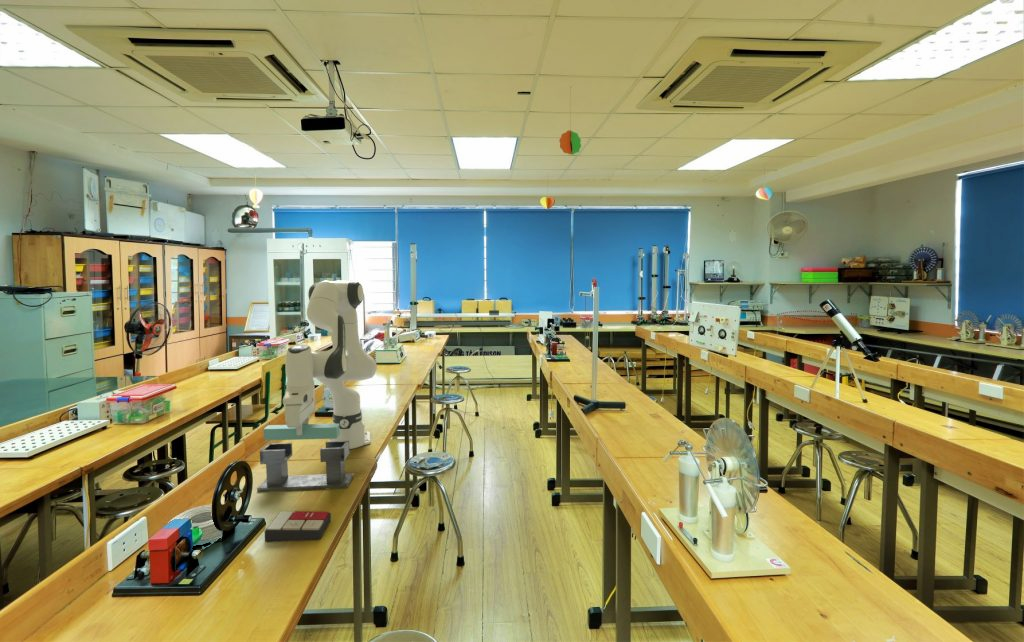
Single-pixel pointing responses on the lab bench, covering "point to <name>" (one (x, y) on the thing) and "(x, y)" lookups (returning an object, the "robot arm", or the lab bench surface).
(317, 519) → the large key keypad
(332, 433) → the rail
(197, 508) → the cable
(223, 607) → the lab bench surface
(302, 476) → the bracket stand
